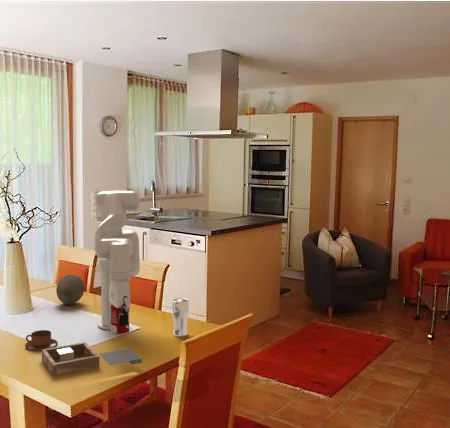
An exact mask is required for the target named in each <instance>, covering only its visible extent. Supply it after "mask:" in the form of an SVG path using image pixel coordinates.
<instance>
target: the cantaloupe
mask: <svg viewBox="0 0 450 428" xmlns="http://www.w3.org/2000/svg"><path fill="white" fill-rule="evenodd" d="M55 292H56V295H57V299H58V300H59V301H60V302H61V303H62V304H64V305H67V306H68V305H69V306H70V305H71V306H72V305H73V304H76V303H77V302H79V301H80V300H81V299H82V297H83V296H84V293H85V284H84V281H83V279H82V278H81V277H80V276H78V275H75V274H69V275H64V276H62V277H61V278H60V279H59V280H58V282H57V285H56V291H55Z"/></svg>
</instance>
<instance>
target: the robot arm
mask: <svg viewBox="0 0 450 428" xmlns="http://www.w3.org/2000/svg"><path fill="white" fill-rule="evenodd" d="M95 203H96V208H97V210H98V211H97V212H98V214H99V216H100V219H101V222H100V224H98V226H97V228H96V230H95V233H94V250H95V255H96V256H97V257H98V258H99V259H100V260H99V263H98V267H99V273H100V282H101V283H100V284H101V287H100V288H101V320H100V321H98V323H97V327H98V328H100V329H102V330H110V331H111V305H113V306H115V307H116V308H120V314H121V315H120V326H125V325H128V315H129V316H130V309H131V287H130V285H131V284H130V280H131V277H135V276H138V275H139V273H140V269H141V267H140V264H141V262H140V238H139V235H138V233H137V232H136V231H134V230H123V229H122V228H124V227H125V226H126V224H127V222H128V218H127V212H137V211H138V210H139V209H140V206H141V200H140V196H139V194H138V192H137V191H134V190H107V191H106V190H105V191H101V192H100V191H99V192H98V193H97V194H96V196H95ZM122 305H125V306H122ZM121 306H122V307H121ZM122 308H125V309H124V310H122Z"/></svg>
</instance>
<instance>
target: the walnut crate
mask: <svg viewBox="0 0 450 428" xmlns="http://www.w3.org/2000/svg"><path fill="white" fill-rule="evenodd" d="M69 347H70V348H71V349H72V350H73V351H74V360H70V361H65V362H59V363H58V362H57V361H56V350H57V349H63V348H69ZM48 348H49V349H46V348H42V349H43V350H42V351H41V361H42V363H43V364H44V366H45V367H46V368H47V370H48V372H49V373H50V374H51V375H52V377H58V376H62V375H63V376H64V375H67V374H73V373H74V374H75V373H77V372H83V371H84V372H85V371H88V370H93V369H97V368H100V354H98V353H97V352H96V351H94V349H93V348H92V347H91V346H90V345H89V344H88V343H87V342H78V343H73V344H67V345H63V346H62V345H61V346H55V347H54V348H50V347H48Z"/></svg>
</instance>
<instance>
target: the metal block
mask: <svg viewBox="0 0 450 428" xmlns="http://www.w3.org/2000/svg"><path fill="white" fill-rule="evenodd" d="M70 360H74V351H73V350H72V349H71V348H70V347H69V348H63V349H57V350H56V361H57V362H58V363H59V362H65V361H70Z"/></svg>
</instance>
